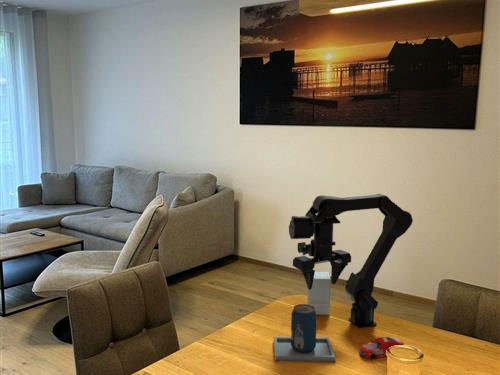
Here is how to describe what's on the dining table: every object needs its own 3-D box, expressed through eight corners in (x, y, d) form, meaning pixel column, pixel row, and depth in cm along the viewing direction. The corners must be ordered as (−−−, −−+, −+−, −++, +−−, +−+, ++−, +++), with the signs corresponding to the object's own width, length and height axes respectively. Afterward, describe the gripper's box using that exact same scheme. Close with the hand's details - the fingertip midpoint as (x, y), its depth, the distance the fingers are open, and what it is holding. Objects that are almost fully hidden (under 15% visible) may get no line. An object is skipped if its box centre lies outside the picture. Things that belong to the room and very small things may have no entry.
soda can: (313, 342, 132) (314, 302, 130) (318, 354, 125) (319, 313, 124) (289, 343, 132) (289, 303, 130) (292, 355, 125) (293, 313, 123)
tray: (328, 342, 134) (328, 337, 133) (335, 362, 123) (335, 356, 123) (273, 341, 134) (273, 336, 134) (275, 361, 123) (275, 356, 123)
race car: (365, 362, 123) (366, 348, 123) (355, 352, 129) (355, 339, 128) (407, 354, 127) (408, 341, 127) (396, 345, 132) (396, 332, 132)
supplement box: (328, 306, 159) (329, 271, 157) (329, 315, 152) (331, 278, 150) (306, 305, 160) (307, 270, 158) (307, 314, 153) (308, 278, 151)
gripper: (330, 228, 151) (328, 274, 153) (282, 235, 142) (281, 283, 144) (353, 236, 141) (351, 284, 144) (304, 243, 132) (303, 295, 135)
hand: (321, 286), depth 142 cm, fingers open, 9 cm apart
